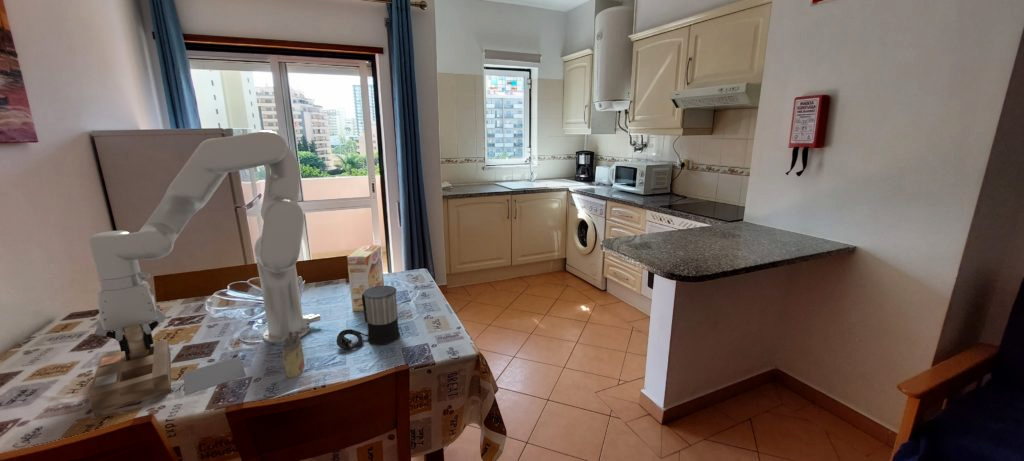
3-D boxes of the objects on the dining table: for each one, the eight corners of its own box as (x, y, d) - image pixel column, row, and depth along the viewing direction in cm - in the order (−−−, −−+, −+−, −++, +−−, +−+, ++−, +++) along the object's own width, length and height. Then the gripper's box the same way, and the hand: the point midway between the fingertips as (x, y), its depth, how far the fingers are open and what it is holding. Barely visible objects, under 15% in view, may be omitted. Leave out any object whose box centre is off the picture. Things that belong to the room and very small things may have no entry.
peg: (150, 354, 107) (140, 311, 104) (149, 359, 104) (139, 316, 101) (131, 359, 104) (120, 315, 102) (130, 364, 102) (119, 320, 99)
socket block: (170, 355, 112) (167, 337, 111) (171, 392, 96) (166, 372, 95) (105, 372, 104) (100, 354, 103) (93, 416, 88) (87, 395, 87)
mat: (239, 357, 111) (239, 356, 111) (246, 377, 102) (246, 375, 102) (183, 374, 103) (183, 372, 103) (185, 396, 94) (185, 395, 94)
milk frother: (407, 334, 123) (403, 287, 120) (368, 359, 109) (363, 308, 106) (371, 325, 129) (366, 281, 125) (330, 348, 115) (324, 299, 112)
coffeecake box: (372, 311, 139) (366, 256, 135) (351, 311, 139) (345, 256, 135) (385, 294, 154) (381, 244, 149) (367, 294, 154) (362, 244, 150)
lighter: (299, 377, 101) (294, 341, 99) (282, 380, 100) (277, 343, 98) (306, 362, 108) (301, 328, 106) (290, 364, 107) (285, 329, 105)
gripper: (165, 270, 107) (179, 334, 111) (76, 285, 97) (95, 355, 101) (165, 278, 102) (180, 345, 106) (70, 294, 91) (90, 368, 96)
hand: (138, 349), depth 104 cm, fingers closed on peg, 3 cm apart
